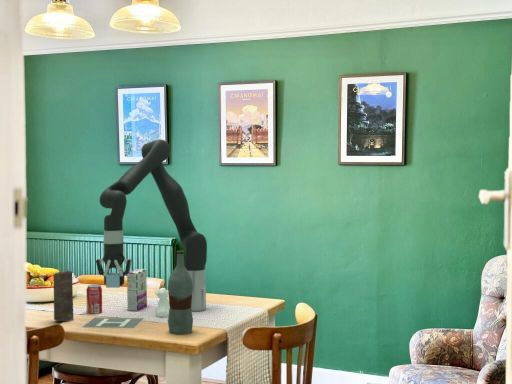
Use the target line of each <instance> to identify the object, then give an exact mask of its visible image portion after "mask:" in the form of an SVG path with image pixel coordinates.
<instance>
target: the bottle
mask: <svg viewBox="0 0 512 384" xmlns="http://www.w3.org/2000/svg"><path fill="white" fill-rule="evenodd" d="M184 253H185V250H177V251H176V266H175V268H174V269H173V271H172V272H171V274H170V275H169V278H168V283H167V291H168V300H169V316H168V317H167V324H168V326H167V327H168V331H169V333H170V334H172V335H186V334H191V333H192V331H193V326H194V325H193V324H194V319H193V311H192V309H191V304H192V291H193V284H192V278H191V276H190V274H189V273H188V271H187V269H186V268H185V266H184V263H185V258H184V257H185V256H184V255H185V254H184Z"/></svg>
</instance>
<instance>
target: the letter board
mask: <svg viewBox="0 0 512 384" xmlns="http://www.w3.org/2000/svg"><path fill="white" fill-rule="evenodd" d="M144 319H145V318H143V317H142V318H141V317H137V318H136V317H93V318H92V319H91V320H90V321H87V323H85V324H84V325H83V326H82V328H109V329H111V328H113V329H114V328H115V329H117V328H118V329H119V328H120V329H135V328H136V327H137V326H138V325H139V324H140V323H141V322H142V321H143V320H144Z"/></svg>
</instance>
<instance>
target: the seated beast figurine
mask: <svg viewBox="0 0 512 384" xmlns="http://www.w3.org/2000/svg"><path fill="white" fill-rule="evenodd" d="M157 290H158V291H157ZM157 290H156V291H155V290H154V294H155V295H156V297H157V298H159V299H158V302H157V307H156V309H155V315H156V317H157V318H168V316H169V309H170V306H169V294H168V289H166V287H160V288H159V289H157Z"/></svg>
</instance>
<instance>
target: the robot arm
mask: <svg viewBox="0 0 512 384" xmlns="http://www.w3.org/2000/svg"><path fill="white" fill-rule="evenodd" d="M140 153H141V156H142V159H141V160H139V162H136V164H134V165H133V166H132V167H130V168H129V169H128V170H126V172H125V173H123V174H122V176H121V177H119V179H117V181H116V182H114V183H113V184H111V185H109V186H108V187H107V188H105V189H104V190H103V191H102V193H101V194H100V196H99V204H100V206H101V207H102V208H104V209H111V211H110V214H108V215H105V216H104V217H103V218H104V219H103V224H104V225H103V241H102V242H103V257H102V258H98V259H96V260H95V263H96V268H97V271H98V275H101V276H103V284H104V285H106V274H108V273H110V270H111V269H117V271H118V273H119V274H120V286H121V287H123V286H124V284H125V276H127V274H129V272H131V271H130V269H131V265H132V263H133V260H132V258H126V257H125V254H124V253H125V252H124V250H125V249H124V231H123V228H124V227H123V225H124V223H123V220H124V215H125V211H126V208H127V197H126V196H127V195H131V193H132V192H134V191H135V189H136V188H137V187H138V186H139V185H140V183H141V182H142V181H143V180H144V179H145V178H146V177H147V176H148V175H149V174H151V176H152V179H153V180H154V182H155V184H156V187H157V189H158V191H159V193H160V195H161V198H162V200H163V202H164V205H165V207H166V210H167V211H168V213H169V216H170V218H171V219H172V221H173V223H174V225H175V228H176V231H177V233H178V236H179V240H180V244H181V246H182V248H183V250H184V251H185V259H184V266H185V268H186V269H187V271H188V273H189V274H190V276H191V278H192V284H193V291H192V304H191V309H192V312H199V311H206V308H207V286H206V264H207V257H208V256H207V255H208V241H207V238H206V237H205V235H204V234H202V233H200V232H198V231H197V229H196V227H195V225H194V223H193V221H192V219H191V213H190V208H189V207H190V205H189V202H188V199H187V196H186V195H185V192H184V190H183V187H182V186H181V185H180V183H179V182H178V181H176V180H175V179H174V177H172V176H171V174H169V173H168V171H167V170H166V168H165V166H164V164H163V162H165V161H166V160H167V159H168V158H169V157H170V156H171V155H170V154H171V147H170V144H169V143H168V141H166V140H164V139H156V140H153V141H150V142H146V143H144V144H143V145H142V146H141V150H140ZM103 263H104V264H105V268H104V267H103ZM123 263H125V265H126V266H125V269H124V268H123Z"/></svg>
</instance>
